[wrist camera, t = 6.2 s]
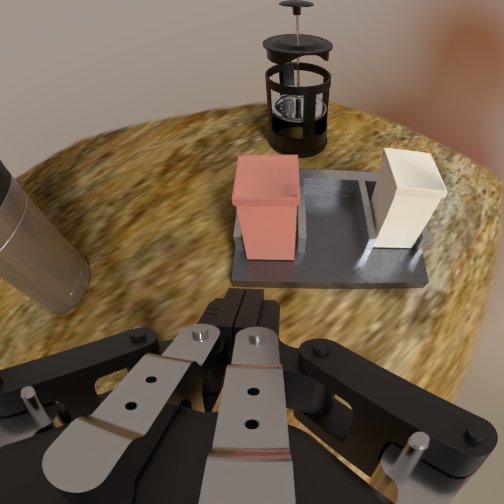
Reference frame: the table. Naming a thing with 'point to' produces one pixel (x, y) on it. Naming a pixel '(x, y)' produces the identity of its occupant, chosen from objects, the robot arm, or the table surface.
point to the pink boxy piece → (267, 204)
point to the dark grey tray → (334, 241)
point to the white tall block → (404, 197)
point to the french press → (297, 90)
